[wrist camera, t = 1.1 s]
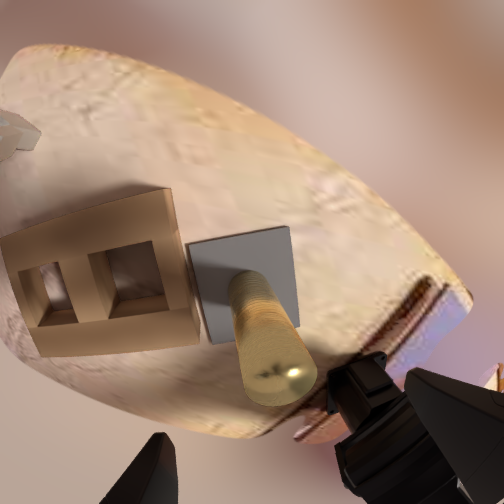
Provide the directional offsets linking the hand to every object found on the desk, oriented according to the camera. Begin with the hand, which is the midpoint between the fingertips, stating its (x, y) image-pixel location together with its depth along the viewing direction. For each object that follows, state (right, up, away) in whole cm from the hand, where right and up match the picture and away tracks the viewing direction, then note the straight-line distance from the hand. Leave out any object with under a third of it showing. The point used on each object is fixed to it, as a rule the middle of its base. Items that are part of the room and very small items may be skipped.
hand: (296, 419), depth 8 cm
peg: (-2, +3, +12) cm, 12 cm away
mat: (-2, +3, +12) cm, 12 cm away
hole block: (-13, +4, +10) cm, 17 cm away
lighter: (-19, +15, +7) cm, 25 cm away
